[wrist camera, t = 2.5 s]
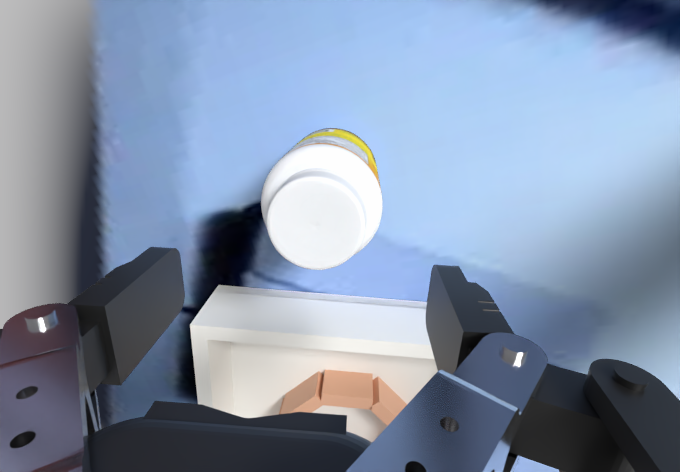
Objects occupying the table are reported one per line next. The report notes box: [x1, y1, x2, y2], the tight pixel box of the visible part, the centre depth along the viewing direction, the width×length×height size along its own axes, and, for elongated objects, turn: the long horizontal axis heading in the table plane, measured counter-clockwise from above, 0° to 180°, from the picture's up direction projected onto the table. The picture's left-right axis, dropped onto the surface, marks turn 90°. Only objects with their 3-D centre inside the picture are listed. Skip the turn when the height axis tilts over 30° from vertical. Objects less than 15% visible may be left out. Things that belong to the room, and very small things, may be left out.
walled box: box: [190, 285, 438, 442], centre depth 30 cm, size 22×20×5 cm
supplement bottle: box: [261, 128, 382, 270], centre depth 20 cm, size 6×6×10 cm
